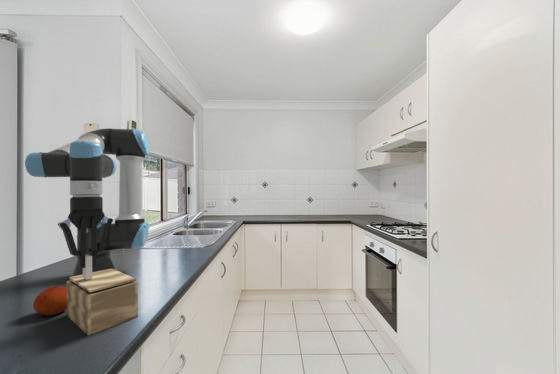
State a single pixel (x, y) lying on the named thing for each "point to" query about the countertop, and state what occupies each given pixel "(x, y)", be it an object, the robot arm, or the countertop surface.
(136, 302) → the wooden box
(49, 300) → the fruit
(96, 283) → the flap
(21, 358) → the countertop surface
